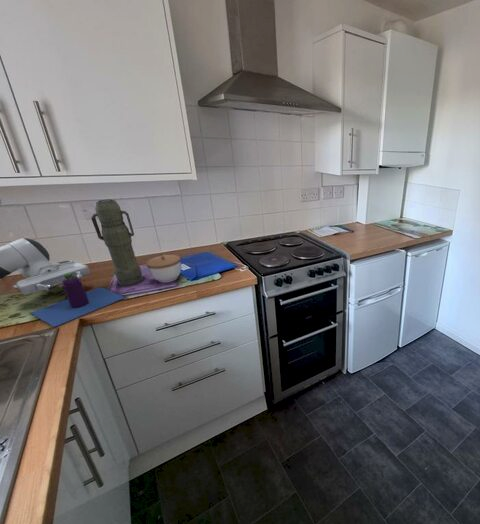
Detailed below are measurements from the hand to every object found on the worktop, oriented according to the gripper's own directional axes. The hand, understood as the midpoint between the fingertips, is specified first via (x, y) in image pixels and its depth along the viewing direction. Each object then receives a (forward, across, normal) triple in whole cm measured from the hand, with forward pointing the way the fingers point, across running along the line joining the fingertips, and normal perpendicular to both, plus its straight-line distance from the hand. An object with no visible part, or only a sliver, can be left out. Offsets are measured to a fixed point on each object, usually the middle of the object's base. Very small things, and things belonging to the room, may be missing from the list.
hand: (64, 282), depth 111 cm
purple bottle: (+6, 0, +8) cm, 10 cm away
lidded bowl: (+14, +29, +8) cm, 33 cm away
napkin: (+6, 0, +8) cm, 10 cm away
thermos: (+2, +20, +8) cm, 22 cm away
